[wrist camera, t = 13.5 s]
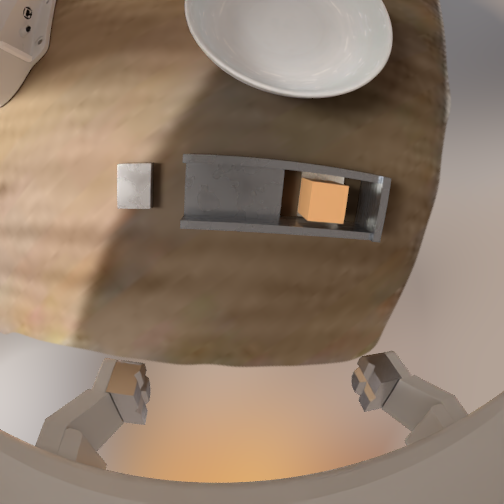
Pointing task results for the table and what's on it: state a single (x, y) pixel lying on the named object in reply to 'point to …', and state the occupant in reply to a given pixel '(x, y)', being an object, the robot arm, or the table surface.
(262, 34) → the serving bowl
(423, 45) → the table surface
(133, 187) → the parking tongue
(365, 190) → the rail
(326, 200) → the block
